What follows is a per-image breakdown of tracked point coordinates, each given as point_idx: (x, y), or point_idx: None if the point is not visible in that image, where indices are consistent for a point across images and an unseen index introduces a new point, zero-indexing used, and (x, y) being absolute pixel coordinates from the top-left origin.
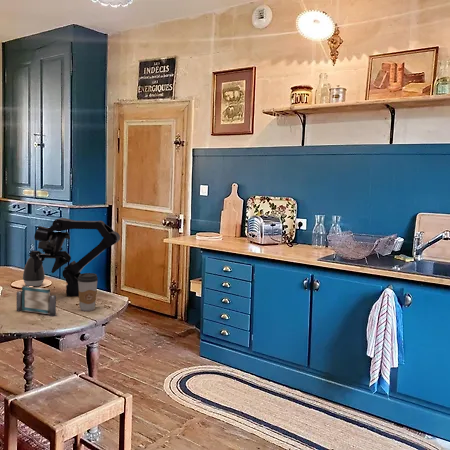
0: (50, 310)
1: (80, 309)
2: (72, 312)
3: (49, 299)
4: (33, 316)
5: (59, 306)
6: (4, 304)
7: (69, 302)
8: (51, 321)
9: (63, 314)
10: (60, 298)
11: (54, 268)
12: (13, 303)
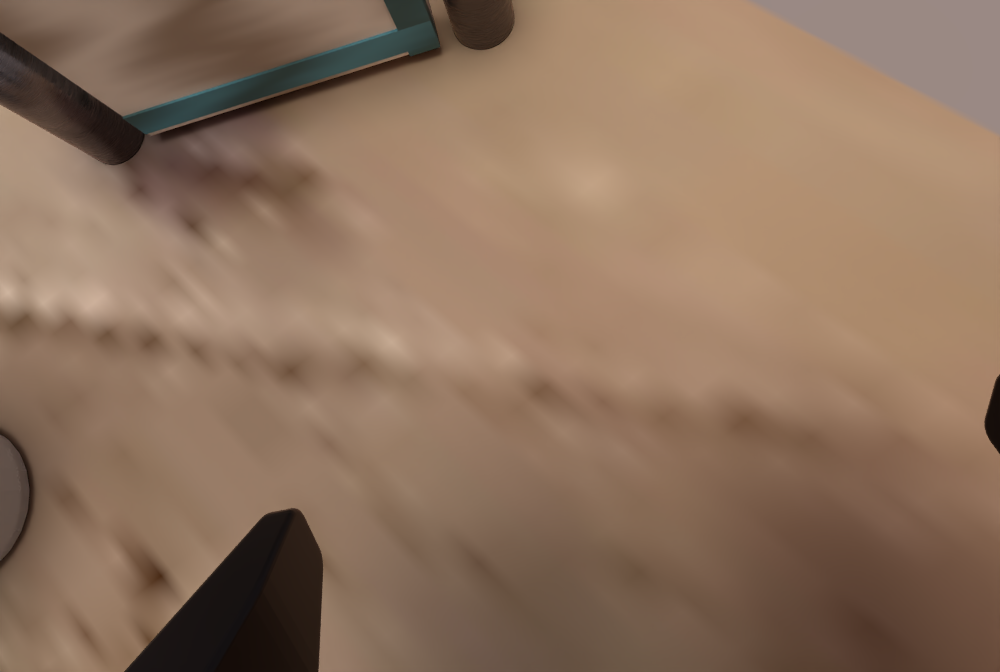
0: None
1: (6, 438)
2: (18, 315)
3: (19, 34)
4: None
5: (262, 384)
6: (827, 43)
7: None
8: None
9: (50, 216)
10: (508, 664)
11: (172, 656)
12: (783, 132)
